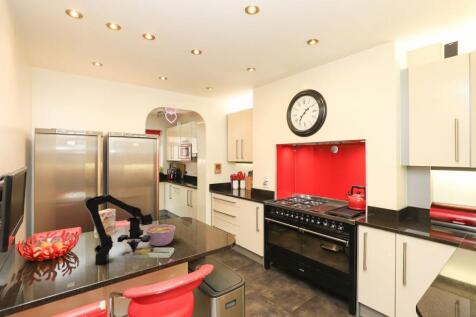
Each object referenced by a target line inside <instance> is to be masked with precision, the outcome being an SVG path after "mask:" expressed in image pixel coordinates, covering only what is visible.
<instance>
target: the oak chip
mask: <svg viewBox="0 0 476 317" xmlns="http://www.w3.org/2000/svg"><path fill="white" fill-rule="evenodd" d="M144 248H145V247H137V249H136V250H135V254H141V250H142V249H144Z"/></svg>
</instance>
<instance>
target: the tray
mask: <svg viewBox="0 0 476 317" xmlns="http://www.w3.org/2000/svg"><path fill="white" fill-rule="evenodd" d="M153 248H154V252H153V253H148V258H165V259H166V258H171V257H172V255H173V254H174V253H175V248H174V247H153Z"/></svg>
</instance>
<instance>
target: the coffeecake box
mask: <svg viewBox="0 0 476 317" xmlns="http://www.w3.org/2000/svg"><path fill="white" fill-rule="evenodd" d="M116 210H117V209H116V208H107V209H102V210H99V215H100V218H101V221H102V223H103V226H104V229H105V232H106V234H107V235H108V234H109V235H110V236H112V235H114V234H116V216H117V215H116V212H117V211H116ZM93 226H94V225H93ZM93 231H94V232H93V238H94V239H98V234H97V232H96V229H95V226H94V230H93Z"/></svg>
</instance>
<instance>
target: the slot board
mask: <svg viewBox="0 0 476 317" xmlns="http://www.w3.org/2000/svg"><path fill="white" fill-rule="evenodd" d="M137 248H138V247H137ZM137 248H136V249H137ZM149 248H150V253H155V252H154V248H155V247H149ZM124 258H125V259H126V258H127V259H133V258H134V259H148V258H149V257H148V254H135V253H133V251H132V250H131V252H129V253H125V254H124Z"/></svg>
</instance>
